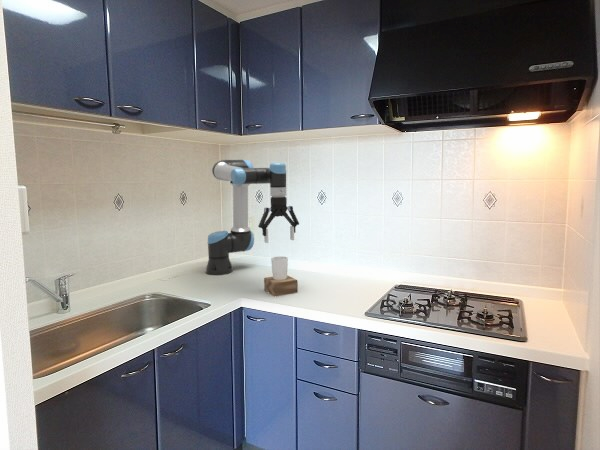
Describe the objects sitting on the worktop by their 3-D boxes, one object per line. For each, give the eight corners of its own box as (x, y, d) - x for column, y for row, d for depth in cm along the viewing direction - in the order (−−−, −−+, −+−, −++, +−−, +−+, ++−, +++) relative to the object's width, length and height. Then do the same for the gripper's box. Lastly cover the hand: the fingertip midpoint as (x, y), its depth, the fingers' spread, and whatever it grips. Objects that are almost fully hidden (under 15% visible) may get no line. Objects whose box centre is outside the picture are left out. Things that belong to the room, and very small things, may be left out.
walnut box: (264, 290, 189) (264, 277, 188) (286, 286, 195) (286, 274, 194) (274, 296, 179) (274, 283, 178) (297, 292, 184) (297, 279, 184)
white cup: (279, 275, 192) (279, 255, 190) (291, 278, 187) (291, 257, 185) (268, 278, 186) (267, 258, 184) (280, 281, 181) (279, 260, 179)
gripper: (256, 198, 172) (258, 245, 174) (305, 195, 183) (306, 239, 186) (250, 197, 178) (252, 242, 181) (298, 195, 190) (298, 237, 193)
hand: (279, 241), depth 184 cm, fingers open, 13 cm apart
